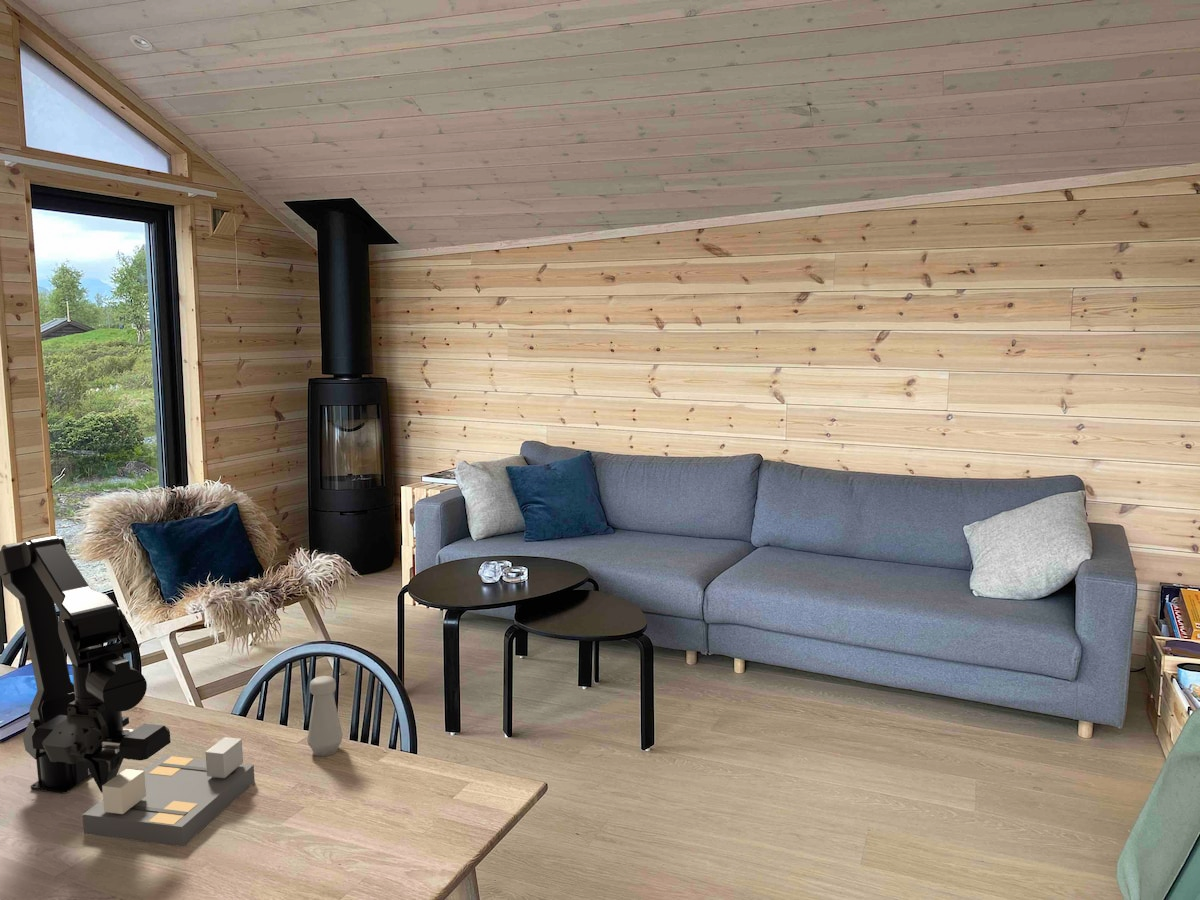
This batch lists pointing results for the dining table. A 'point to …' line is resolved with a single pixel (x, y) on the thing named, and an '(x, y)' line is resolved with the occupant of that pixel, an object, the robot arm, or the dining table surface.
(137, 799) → the cream fader
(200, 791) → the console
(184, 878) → the dining table surface
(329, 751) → the salt shaker
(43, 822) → the dining table surface
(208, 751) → the block
